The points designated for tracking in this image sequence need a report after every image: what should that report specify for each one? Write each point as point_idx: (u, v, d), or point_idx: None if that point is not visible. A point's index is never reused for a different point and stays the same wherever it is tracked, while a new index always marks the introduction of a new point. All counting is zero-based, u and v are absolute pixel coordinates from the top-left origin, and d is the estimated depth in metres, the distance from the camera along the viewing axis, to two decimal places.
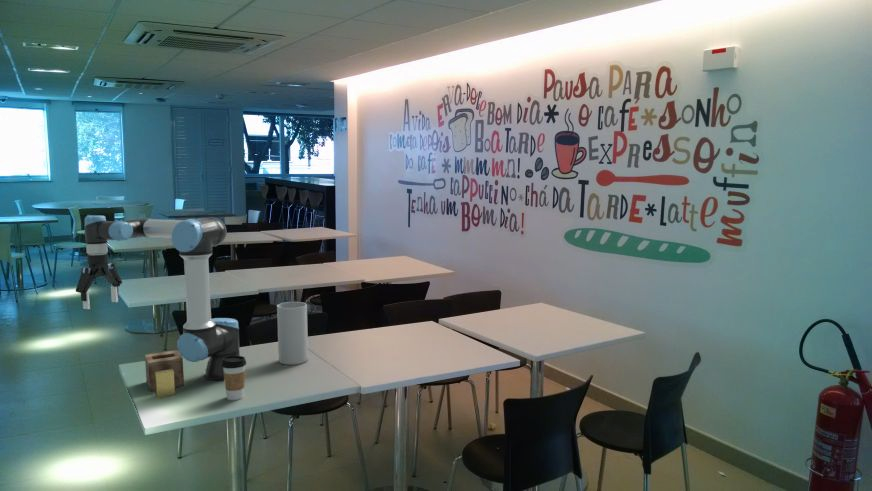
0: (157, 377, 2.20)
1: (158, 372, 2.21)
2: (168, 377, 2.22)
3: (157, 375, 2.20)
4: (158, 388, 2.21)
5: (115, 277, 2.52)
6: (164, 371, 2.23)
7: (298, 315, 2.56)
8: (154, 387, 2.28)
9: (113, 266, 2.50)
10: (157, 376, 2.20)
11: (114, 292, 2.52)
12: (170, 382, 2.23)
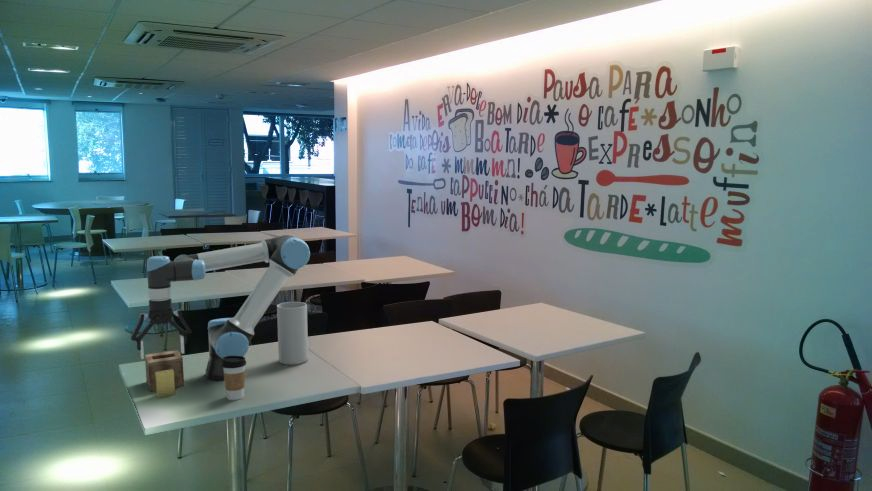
0: (157, 377, 2.20)
1: (158, 372, 2.21)
2: (168, 377, 2.22)
3: (157, 375, 2.20)
4: (158, 388, 2.21)
5: (184, 325, 2.24)
6: (164, 371, 2.23)
7: (298, 315, 2.56)
8: (154, 387, 2.28)
9: (179, 313, 2.22)
10: (157, 376, 2.20)
11: (181, 342, 2.24)
12: (170, 382, 2.23)
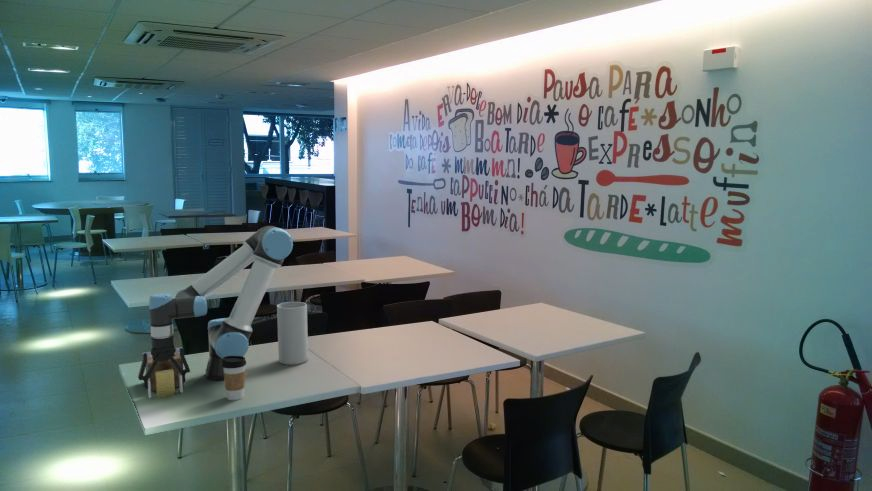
0: (157, 377, 2.20)
1: (158, 372, 2.21)
2: (168, 377, 2.22)
3: (157, 375, 2.20)
4: (158, 388, 2.21)
5: None
6: (164, 371, 2.23)
7: (298, 315, 2.56)
8: (154, 387, 2.28)
9: (181, 351, 2.24)
10: (157, 376, 2.20)
11: (179, 381, 2.25)
12: (170, 382, 2.23)
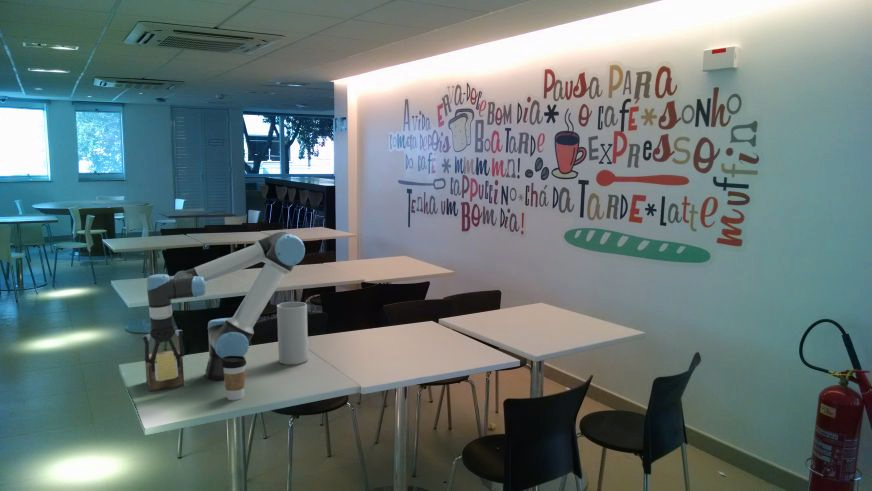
0: (158, 360, 2.20)
1: (158, 356, 2.21)
2: (168, 361, 2.21)
3: (157, 358, 2.19)
4: (159, 371, 2.20)
5: (179, 347, 2.24)
6: (164, 354, 2.22)
7: (298, 315, 2.56)
8: (154, 387, 2.28)
9: (180, 334, 2.23)
10: (158, 359, 2.19)
11: None
12: (171, 366, 2.22)
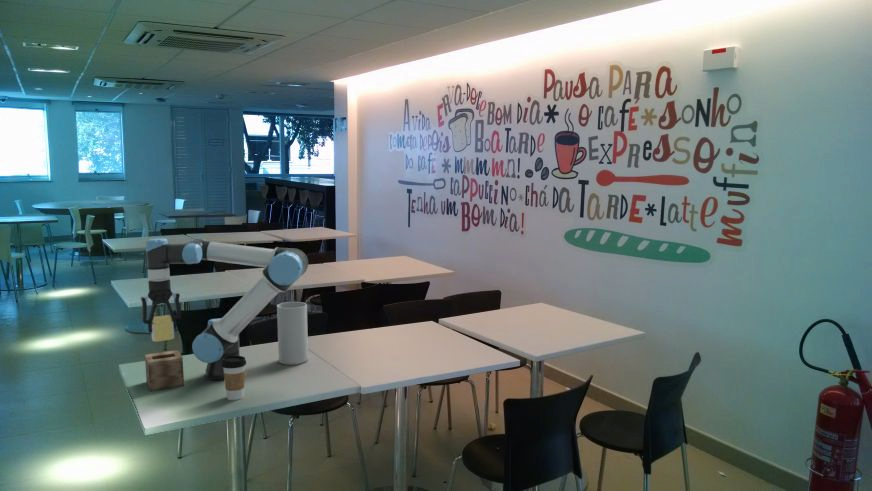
0: (155, 321, 2.27)
1: (156, 317, 2.28)
2: (165, 322, 2.29)
3: (155, 319, 2.27)
4: (156, 332, 2.28)
5: (176, 309, 2.32)
6: (161, 316, 2.30)
7: (298, 315, 2.56)
8: (154, 387, 2.28)
9: (177, 296, 2.31)
10: (155, 320, 2.27)
11: None
12: (167, 327, 2.30)
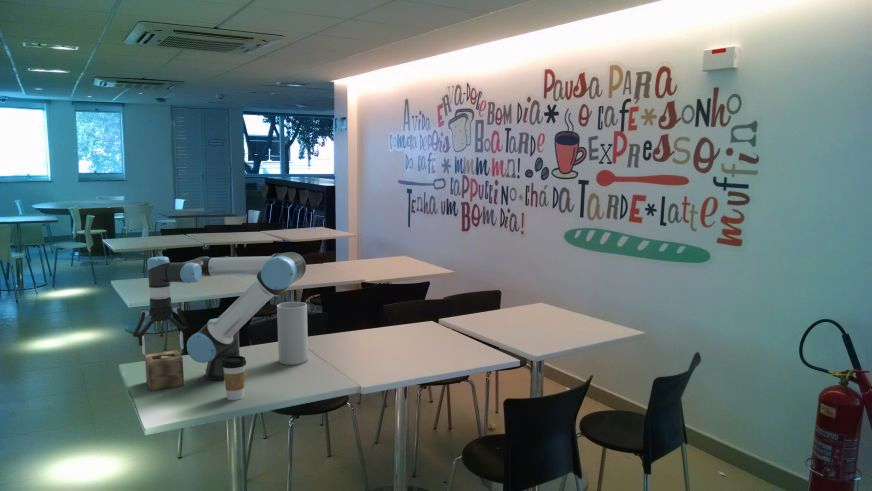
0: None
1: (164, 357, 2.34)
2: None
3: None
4: None
5: (183, 322, 2.36)
6: None
7: (298, 315, 2.56)
8: (154, 387, 2.28)
9: (178, 311, 2.34)
10: None
11: (180, 338, 2.36)
12: None
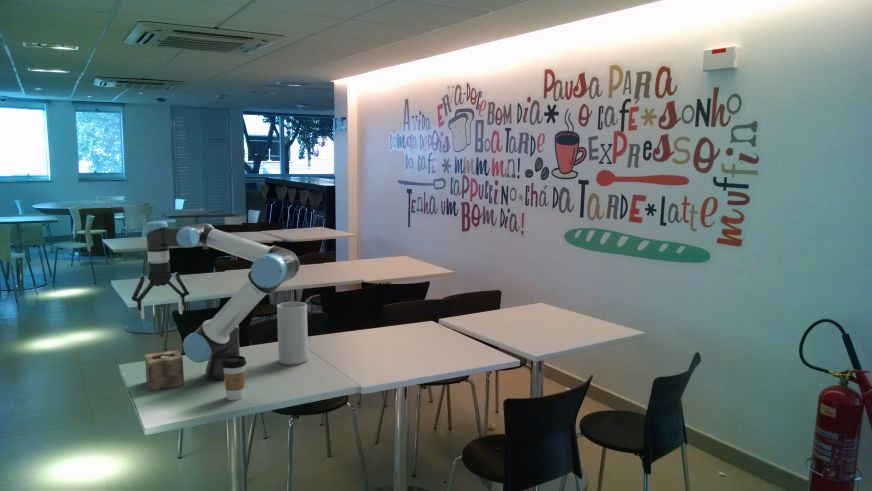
0: None
1: (164, 357, 2.34)
2: None
3: None
4: None
5: (181, 287, 2.36)
6: None
7: (298, 315, 2.56)
8: (154, 387, 2.28)
9: (177, 276, 2.34)
10: None
11: (179, 303, 2.36)
12: None
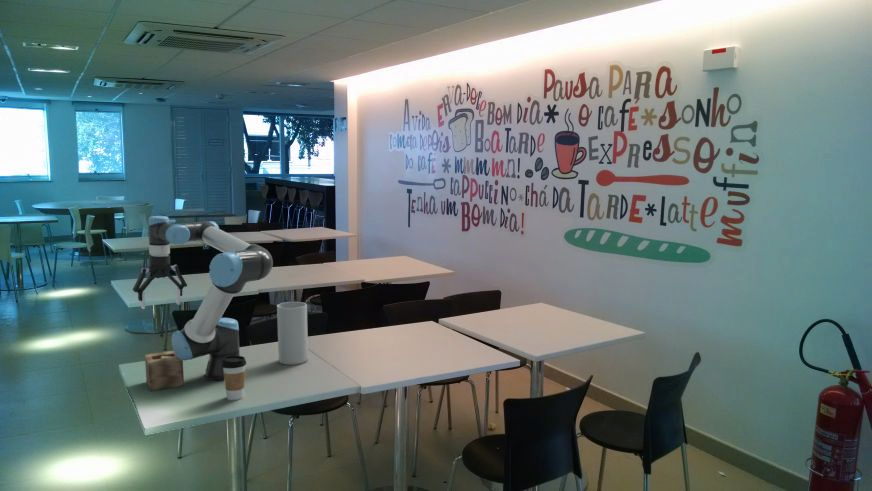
0: None
1: (164, 357, 2.34)
2: None
3: None
4: None
5: (180, 279, 2.48)
6: None
7: (298, 315, 2.56)
8: (154, 387, 2.28)
9: (177, 268, 2.45)
10: None
11: (177, 294, 2.48)
12: None
